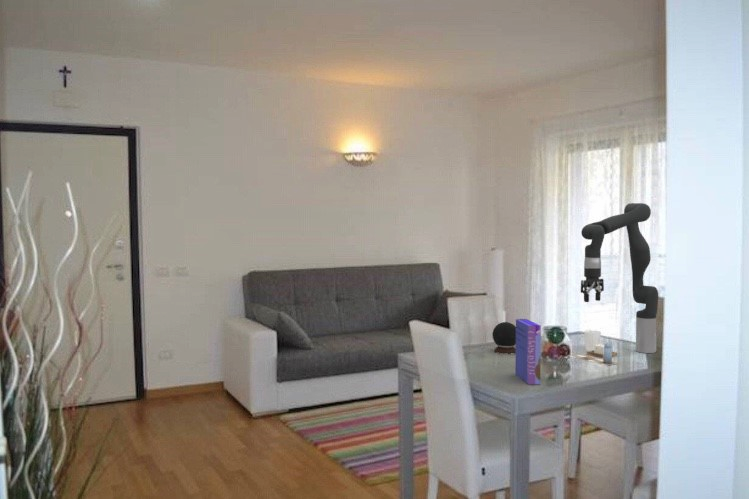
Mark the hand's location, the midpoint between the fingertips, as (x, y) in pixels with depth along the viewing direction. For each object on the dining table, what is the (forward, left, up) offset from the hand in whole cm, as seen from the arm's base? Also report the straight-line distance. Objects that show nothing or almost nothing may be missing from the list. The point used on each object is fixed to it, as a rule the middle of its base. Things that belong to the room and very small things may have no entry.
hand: (592, 301), depth 296 cm
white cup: (-17, -12, -28) cm, 35 cm away
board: (+2, +2, -28) cm, 28 cm away
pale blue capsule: (+2, +10, -27) cm, 29 cm away
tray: (-10, -1, -28) cm, 29 cm away
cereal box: (+54, +9, -28) cm, 61 cm away
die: (-10, -1, -27) cm, 29 cm away
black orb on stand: (+20, -36, -28) cm, 50 cm away
